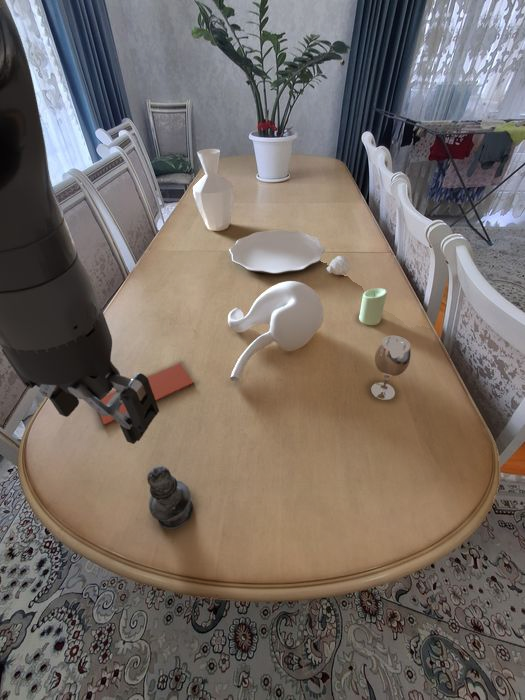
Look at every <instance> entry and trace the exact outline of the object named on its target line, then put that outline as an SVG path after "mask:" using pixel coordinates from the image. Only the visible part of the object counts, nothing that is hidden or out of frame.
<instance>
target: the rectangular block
mask: <svg viewBox="0 0 525 700" xmlns="http://www.w3.org/2000/svg"><path fill="white" fill-rule="evenodd" d="M146 377H147V378H148V380H149V383H150V386H151V389H152V392H153V394H154V397H155V400H156V402H158V401H160V400H162V399H164V398H166V397H168V396H171V395H173V394H176V393H177V392H179V391H181V390H183V389H185V388H187V387H190V386H192V385H194V381H193V380H192V378H191V377H190V376H189V374H188V373H187V371H186V370H185V368H184V367H183V366H182V364H181V362H179V363H176V364H174V365H172V366H170V367H168V368H165V369H163V370H160V371H158V372H156V373H154V374H152V375H149V376H146ZM115 393H116V390H115V391H113V392H111V393H108V394H107V395H106V396H105V397H104V398H103V399H101V401H102V402H103V403H104V404H105V405H106V404H107V403H108V402H109V401H110V399H111V398H112V397H113V396H114V395H115ZM119 410H120V412H122V413H123V414H124V415H125V413H126V412H127V410H126V408H125V406H124V404H122V405H121V406H120V407H119ZM99 416H100V418H101V421H102V424H103V426H107V425H109V424H111V423H113V422H117V421H116V420H115V419H113V418H112V417H111V416H102V415H101V414H99Z"/></svg>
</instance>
